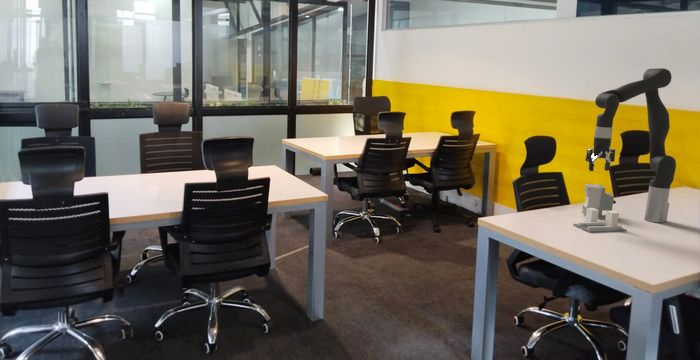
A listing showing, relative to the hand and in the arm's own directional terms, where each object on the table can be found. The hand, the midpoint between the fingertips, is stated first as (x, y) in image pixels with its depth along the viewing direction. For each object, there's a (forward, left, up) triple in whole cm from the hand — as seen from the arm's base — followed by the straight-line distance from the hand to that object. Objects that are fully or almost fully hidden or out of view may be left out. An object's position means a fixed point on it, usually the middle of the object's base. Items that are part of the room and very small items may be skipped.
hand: (598, 170), depth 288 cm
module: (0, -1, -26) cm, 26 cm away
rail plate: (+2, +8, -26) cm, 27 cm away
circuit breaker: (-14, -14, -26) cm, 33 cm away
